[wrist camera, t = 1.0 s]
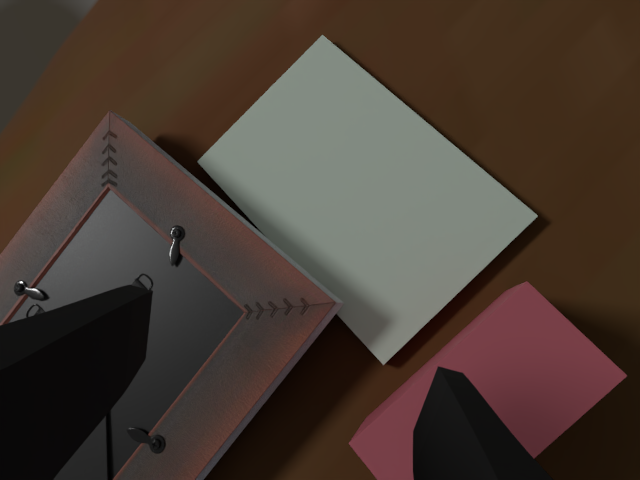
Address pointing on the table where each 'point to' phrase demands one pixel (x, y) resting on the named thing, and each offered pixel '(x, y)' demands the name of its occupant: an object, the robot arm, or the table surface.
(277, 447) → the table surface
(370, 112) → the sage mat
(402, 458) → the card box
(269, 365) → the picture frame
